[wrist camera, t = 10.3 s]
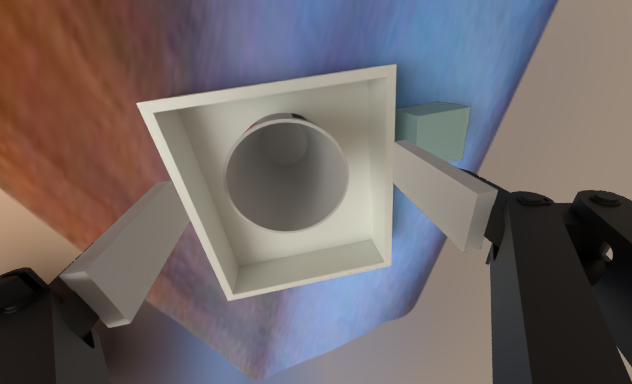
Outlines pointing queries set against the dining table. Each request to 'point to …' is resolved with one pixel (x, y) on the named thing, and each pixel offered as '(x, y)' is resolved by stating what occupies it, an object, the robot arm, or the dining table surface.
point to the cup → (285, 174)
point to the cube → (434, 128)
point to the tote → (275, 248)
